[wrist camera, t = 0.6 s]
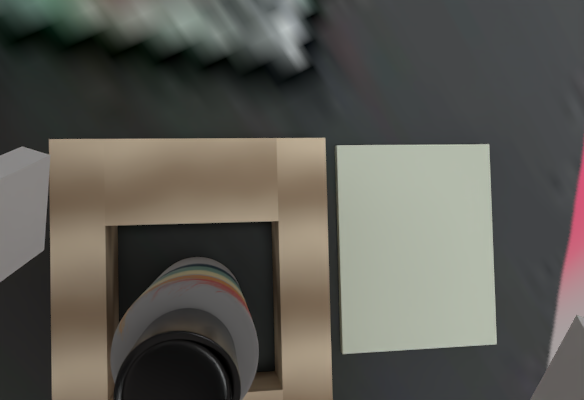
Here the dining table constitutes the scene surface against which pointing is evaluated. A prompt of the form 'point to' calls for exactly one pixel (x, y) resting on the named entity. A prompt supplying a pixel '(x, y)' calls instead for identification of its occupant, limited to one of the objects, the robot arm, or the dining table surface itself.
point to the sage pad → (414, 247)
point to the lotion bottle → (186, 338)
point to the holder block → (185, 210)
